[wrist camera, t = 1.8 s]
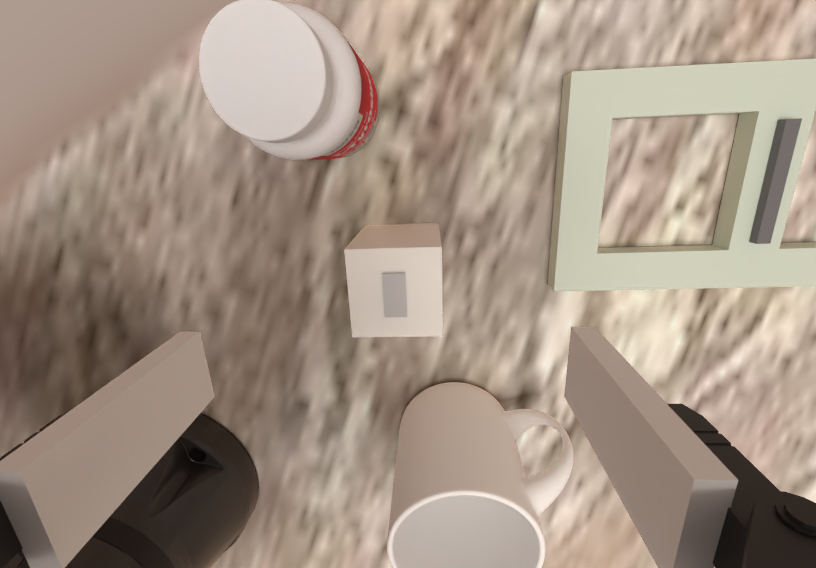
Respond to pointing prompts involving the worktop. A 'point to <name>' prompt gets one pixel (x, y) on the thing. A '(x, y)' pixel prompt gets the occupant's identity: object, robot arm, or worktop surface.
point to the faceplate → (743, 191)
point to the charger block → (395, 281)
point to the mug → (469, 483)
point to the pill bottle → (287, 80)
